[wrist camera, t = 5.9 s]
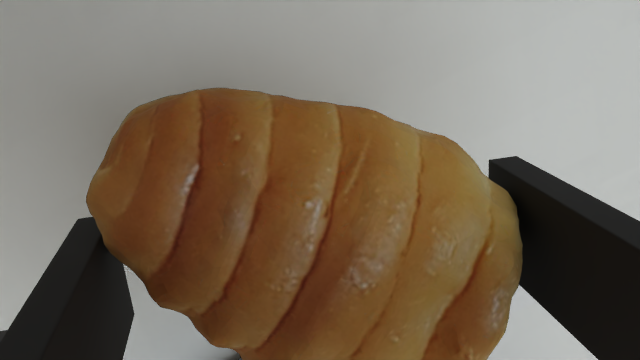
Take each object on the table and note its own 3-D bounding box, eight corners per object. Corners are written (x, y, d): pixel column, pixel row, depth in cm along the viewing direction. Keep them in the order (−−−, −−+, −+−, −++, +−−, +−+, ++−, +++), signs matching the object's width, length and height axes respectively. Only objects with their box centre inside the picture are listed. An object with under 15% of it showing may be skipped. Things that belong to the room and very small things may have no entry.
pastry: (63, 265, 13) (6, 360, 10) (169, 2, 12) (149, 0, 8) (392, 372, 16) (442, 478, 12) (508, 166, 15) (603, 218, 11)
